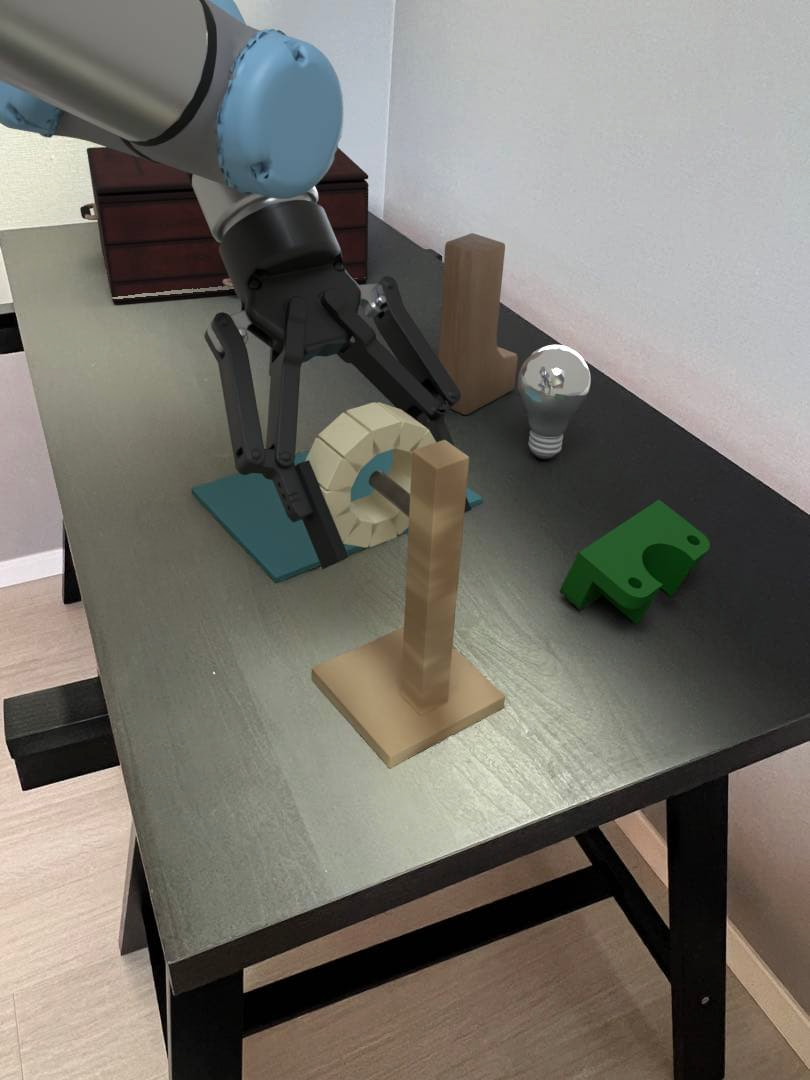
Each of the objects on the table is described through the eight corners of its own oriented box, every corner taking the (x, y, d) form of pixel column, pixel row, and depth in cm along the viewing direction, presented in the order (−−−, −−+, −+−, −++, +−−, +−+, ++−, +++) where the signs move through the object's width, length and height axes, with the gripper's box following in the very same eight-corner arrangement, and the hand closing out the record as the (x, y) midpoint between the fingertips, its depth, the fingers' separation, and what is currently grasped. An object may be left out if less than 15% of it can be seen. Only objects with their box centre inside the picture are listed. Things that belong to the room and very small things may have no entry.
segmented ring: (326, 564, 61) (324, 444, 56) (303, 541, 63) (299, 423, 58) (437, 522, 66) (444, 407, 61) (412, 501, 68) (417, 388, 62)
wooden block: (484, 377, 110) (498, 221, 99) (515, 390, 108) (533, 232, 97) (433, 403, 104) (443, 241, 94) (465, 417, 102) (479, 253, 91)
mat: (275, 583, 78) (275, 577, 78) (191, 493, 88) (190, 487, 88) (482, 503, 89) (482, 497, 88) (385, 431, 99) (385, 426, 99)
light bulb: (551, 483, 92) (568, 371, 85) (494, 457, 96) (507, 347, 88) (591, 457, 96) (610, 348, 89) (535, 433, 100) (550, 326, 93)
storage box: (97, 314, 120) (78, 193, 111) (87, 252, 138) (69, 144, 129) (386, 288, 131) (389, 176, 122) (343, 234, 148) (342, 133, 140)
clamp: (609, 661, 78) (622, 618, 70) (556, 613, 81) (562, 566, 73) (705, 569, 81) (727, 518, 73) (651, 526, 84) (667, 471, 76)
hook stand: (389, 769, 63) (400, 504, 50) (311, 679, 69) (303, 425, 57) (504, 707, 68) (540, 452, 55) (421, 629, 74) (436, 385, 61)
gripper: (381, 227, 71) (496, 503, 70) (101, 281, 61) (232, 606, 60) (426, 172, 65) (554, 475, 64) (121, 221, 54) (269, 585, 53)
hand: (398, 538), depth 62 cm, fingers closed on segmented ring, 9 cm apart
